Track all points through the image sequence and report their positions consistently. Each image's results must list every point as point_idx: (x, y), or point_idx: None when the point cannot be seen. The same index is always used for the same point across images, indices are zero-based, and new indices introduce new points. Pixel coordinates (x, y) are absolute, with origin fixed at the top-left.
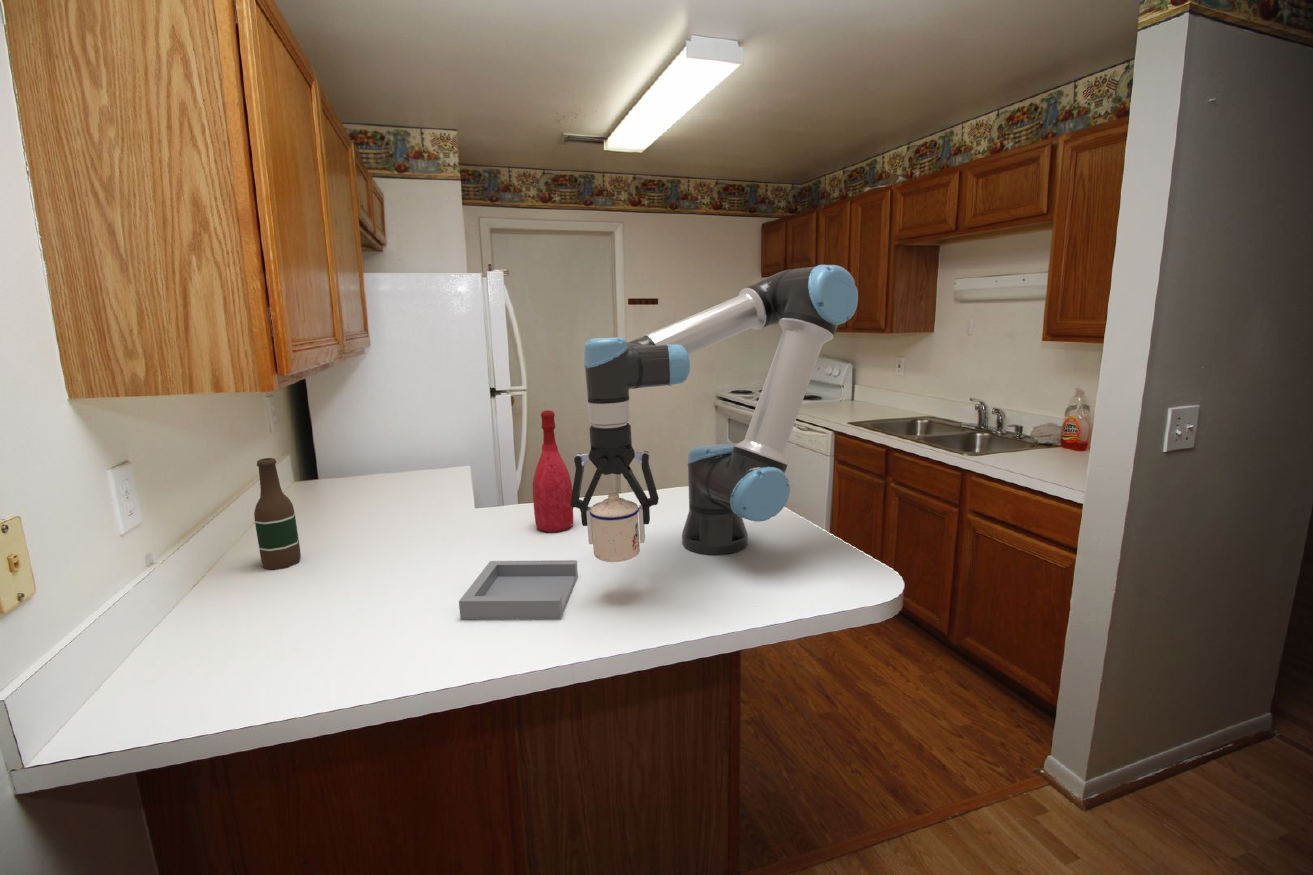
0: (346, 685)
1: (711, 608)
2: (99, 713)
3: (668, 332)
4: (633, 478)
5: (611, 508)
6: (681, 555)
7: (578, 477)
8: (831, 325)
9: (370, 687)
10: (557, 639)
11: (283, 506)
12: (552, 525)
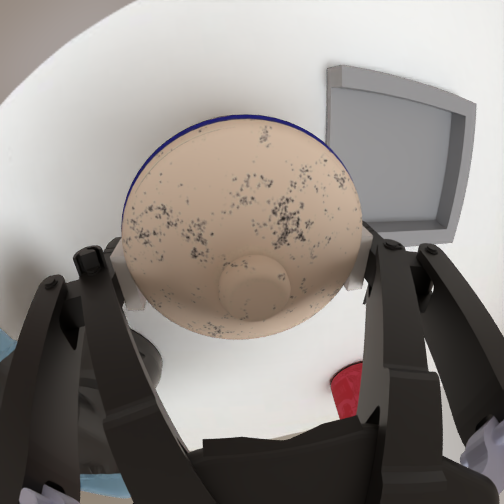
0: (487, 4)
1: (58, 133)
2: None
3: None
4: (106, 402)
5: (251, 179)
6: (148, 320)
7: (491, 343)
8: None
9: None
10: (315, 7)
11: None
12: (360, 370)
